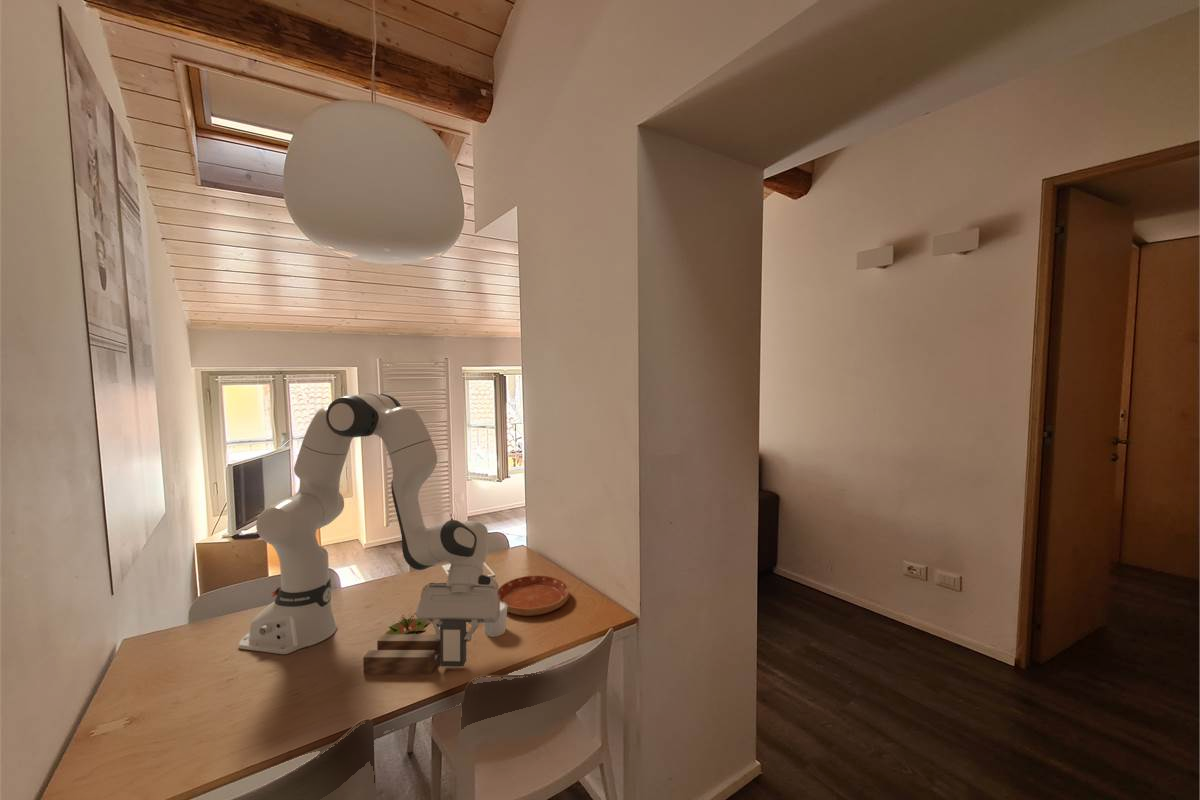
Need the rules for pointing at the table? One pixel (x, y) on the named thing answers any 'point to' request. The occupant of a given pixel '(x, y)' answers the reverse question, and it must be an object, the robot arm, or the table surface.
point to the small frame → (452, 643)
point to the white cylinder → (497, 623)
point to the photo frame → (447, 567)
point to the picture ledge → (403, 655)
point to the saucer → (533, 595)
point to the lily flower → (407, 626)
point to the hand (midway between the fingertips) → (452, 640)
